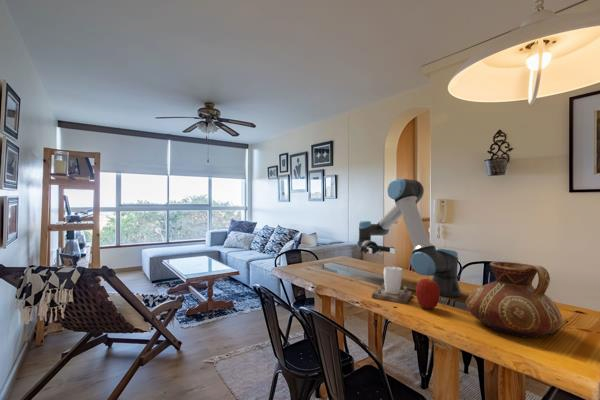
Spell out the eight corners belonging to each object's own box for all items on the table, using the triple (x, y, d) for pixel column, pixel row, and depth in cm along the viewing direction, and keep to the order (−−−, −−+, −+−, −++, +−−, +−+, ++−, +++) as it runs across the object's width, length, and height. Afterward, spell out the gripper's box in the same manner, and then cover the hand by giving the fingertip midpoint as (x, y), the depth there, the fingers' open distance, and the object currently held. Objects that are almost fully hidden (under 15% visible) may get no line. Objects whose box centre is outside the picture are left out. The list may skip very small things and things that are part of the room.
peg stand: (411, 295, 156) (412, 286, 156) (406, 303, 142) (406, 293, 142) (380, 290, 164) (380, 281, 164) (371, 297, 150) (372, 288, 150)
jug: (453, 323, 119) (455, 258, 120) (480, 308, 139) (481, 252, 140) (552, 352, 97) (554, 272, 98) (567, 329, 117) (568, 263, 118)
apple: (426, 312, 130) (427, 279, 131) (410, 305, 140) (410, 274, 140) (445, 310, 134) (446, 278, 134) (427, 303, 144) (428, 273, 144)
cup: (401, 291, 156) (402, 267, 157) (402, 295, 148) (403, 270, 148) (382, 289, 159) (383, 265, 159) (382, 293, 150) (383, 268, 150)
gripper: (389, 253, 191) (405, 258, 170) (350, 253, 188) (361, 258, 167) (389, 241, 191) (405, 244, 170) (350, 240, 188) (361, 244, 167)
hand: (383, 251), depth 168 cm, fingers open, 13 cm apart
